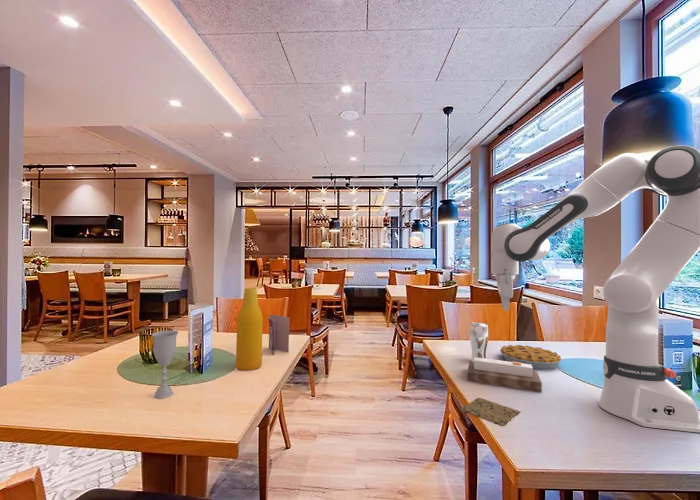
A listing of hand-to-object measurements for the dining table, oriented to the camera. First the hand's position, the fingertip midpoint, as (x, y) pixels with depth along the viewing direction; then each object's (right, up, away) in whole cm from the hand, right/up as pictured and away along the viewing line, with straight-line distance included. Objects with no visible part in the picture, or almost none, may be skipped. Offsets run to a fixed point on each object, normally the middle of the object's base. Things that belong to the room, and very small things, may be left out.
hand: (505, 308), depth 117 cm
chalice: (-110, -22, -21) cm, 114 cm away
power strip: (-3, -23, -4) cm, 24 cm away
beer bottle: (-92, -23, +5) cm, 95 cm away
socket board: (-3, -24, -4) cm, 24 cm away
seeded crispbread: (-17, -24, -27) cm, 40 cm away
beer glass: (-3, -24, +16) cm, 29 cm away
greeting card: (-86, -23, +25) cm, 93 cm away
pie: (+18, -25, +17) cm, 35 cm away
